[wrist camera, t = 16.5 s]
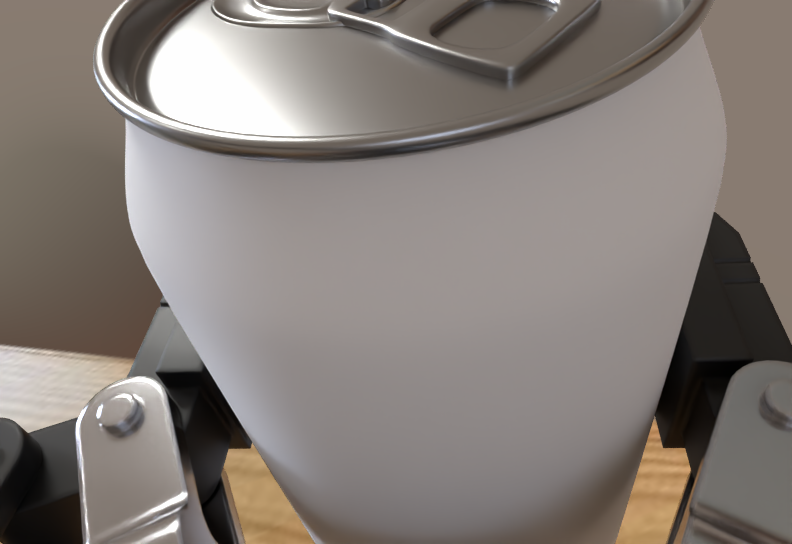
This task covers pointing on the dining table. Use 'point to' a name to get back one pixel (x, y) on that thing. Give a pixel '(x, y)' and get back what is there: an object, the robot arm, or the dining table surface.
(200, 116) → the can
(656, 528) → the dining table surface
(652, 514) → the dining table surface
